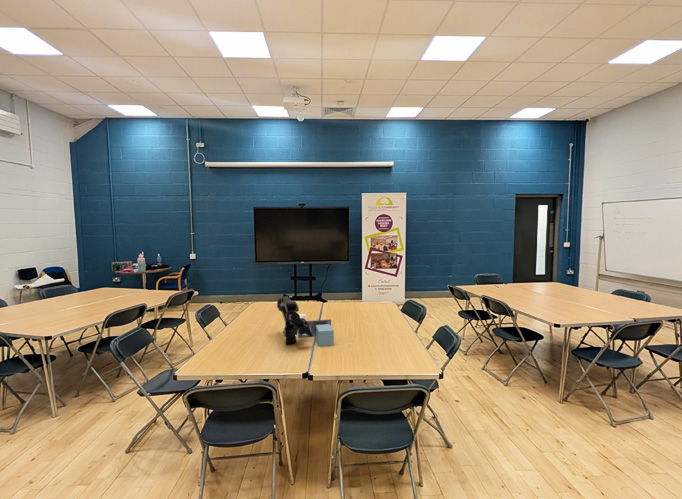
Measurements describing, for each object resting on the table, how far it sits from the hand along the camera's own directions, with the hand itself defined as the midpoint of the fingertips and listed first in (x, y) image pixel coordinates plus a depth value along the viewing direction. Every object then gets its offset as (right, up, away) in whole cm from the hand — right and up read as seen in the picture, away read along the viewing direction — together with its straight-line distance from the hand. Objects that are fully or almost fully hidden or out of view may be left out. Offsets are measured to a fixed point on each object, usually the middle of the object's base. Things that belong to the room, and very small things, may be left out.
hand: (311, 333), depth 212 cm
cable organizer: (-14, -6, +30) cm, 34 cm away
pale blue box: (+9, -6, +2) cm, 11 cm away
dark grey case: (+6, -7, +7) cm, 11 cm away
